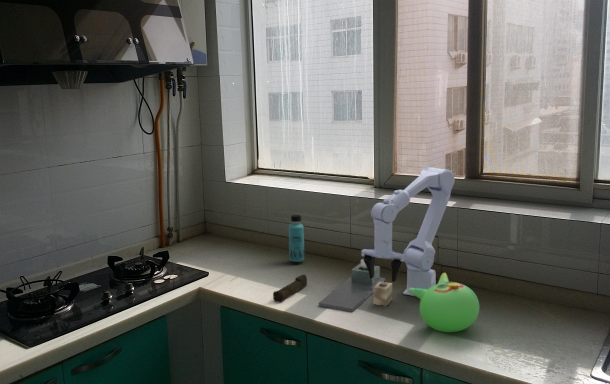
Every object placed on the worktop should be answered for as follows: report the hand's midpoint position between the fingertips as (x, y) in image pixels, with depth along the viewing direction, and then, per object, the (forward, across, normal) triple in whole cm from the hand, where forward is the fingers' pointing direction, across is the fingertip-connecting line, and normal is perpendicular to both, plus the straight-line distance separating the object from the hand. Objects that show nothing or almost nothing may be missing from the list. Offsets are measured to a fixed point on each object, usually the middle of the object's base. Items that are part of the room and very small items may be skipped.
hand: (382, 279), depth 186 cm
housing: (+8, 0, 0) cm, 8 cm away
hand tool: (+9, -32, -5) cm, 34 cm away
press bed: (+8, -12, +4) cm, 15 cm away
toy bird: (+8, +24, -11) cm, 28 cm away
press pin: (+3, -12, +15) cm, 20 cm away
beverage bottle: (+8, -46, +25) cm, 53 cm away
